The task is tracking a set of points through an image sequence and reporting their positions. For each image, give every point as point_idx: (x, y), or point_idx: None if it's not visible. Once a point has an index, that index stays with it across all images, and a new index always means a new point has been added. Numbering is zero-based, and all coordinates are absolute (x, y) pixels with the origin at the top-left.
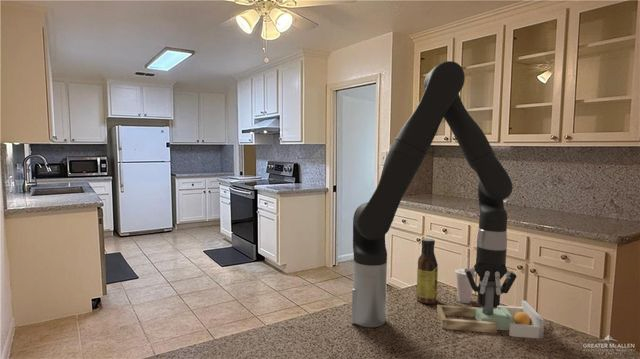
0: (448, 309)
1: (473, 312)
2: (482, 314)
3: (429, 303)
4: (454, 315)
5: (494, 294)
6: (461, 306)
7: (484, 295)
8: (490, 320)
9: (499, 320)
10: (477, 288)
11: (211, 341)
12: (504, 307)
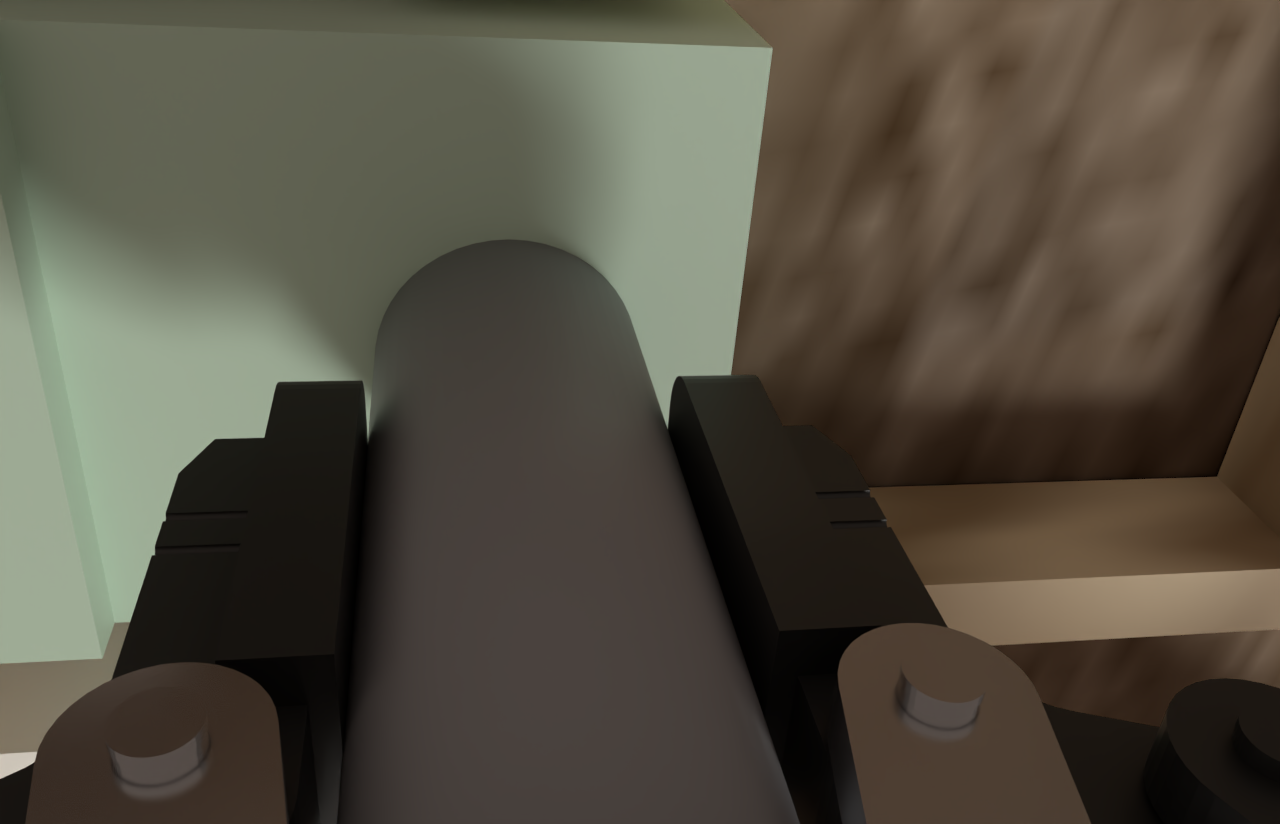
0: (1156, 543)
1: None
2: (671, 260)
3: None
4: (999, 484)
5: (343, 728)
6: None
7: (774, 604)
8: (526, 21)
9: (278, 21)
10: (1213, 797)
11: None
12: (10, 749)
